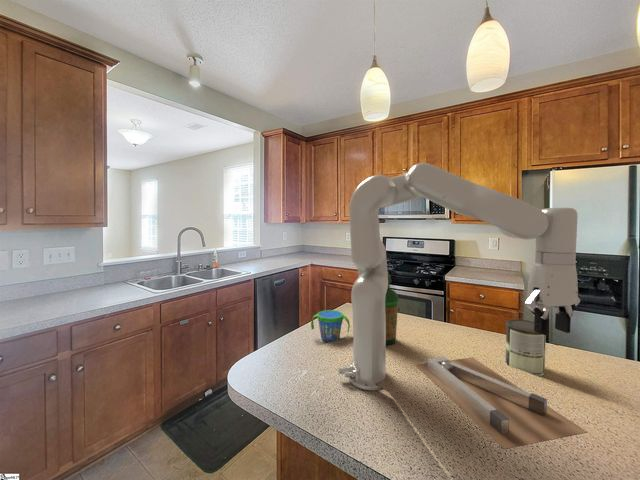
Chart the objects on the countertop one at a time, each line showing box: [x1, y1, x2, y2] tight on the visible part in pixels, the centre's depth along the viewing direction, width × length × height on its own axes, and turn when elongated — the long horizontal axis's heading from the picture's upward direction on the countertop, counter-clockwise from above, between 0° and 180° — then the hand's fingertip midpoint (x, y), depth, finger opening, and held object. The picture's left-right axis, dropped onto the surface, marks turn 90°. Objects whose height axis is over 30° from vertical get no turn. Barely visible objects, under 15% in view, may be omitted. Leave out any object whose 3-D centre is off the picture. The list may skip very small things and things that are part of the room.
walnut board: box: [415, 357, 588, 450], centre depth 75 cm, size 21×34×2 cm, turn 11°
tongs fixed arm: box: [427, 356, 509, 434], centre depth 74 cm, size 28×6×3 cm, turn 11°
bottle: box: [385, 271, 399, 347], centre depth 107 cm, size 11×11×28 cm
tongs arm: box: [441, 361, 548, 416], centre depth 75 cm, size 25×4×3 cm, turn 36°
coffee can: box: [504, 318, 547, 377], centre depth 89 cm, size 10×10×14 cm
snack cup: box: [310, 309, 351, 342], centre depth 114 cm, size 16×10×10 cm
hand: (551, 331), depth 69 cm, fingers open, 5 cm apart
